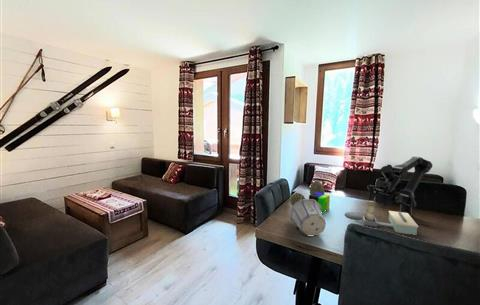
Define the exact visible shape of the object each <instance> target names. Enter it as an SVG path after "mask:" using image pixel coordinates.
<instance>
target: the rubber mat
mask: <svg viewBox="0 0 480 305" xmlns="http://www.w3.org/2000/svg"><path fill="white" fill-rule="evenodd" d="M344 216H345V217H346V218H349V219H352V220H362V219H363V215H362V214H360V213H357V212H351V211H349V212H345V213H344Z"/></svg>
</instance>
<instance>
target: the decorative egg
mask: <svg viewBox="0 0 480 305" xmlns="http://www.w3.org/2000/svg"><path fill="white" fill-rule="evenodd" d="M315 192H317V193H322V194H325V188H324V185H323V184H322V182H321V181H319V180H314V181H313V182H312V183H311V186H310V187H309V195H311V194H313V193H315Z"/></svg>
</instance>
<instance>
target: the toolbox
mask: <svg viewBox="0 0 480 305" xmlns="http://www.w3.org/2000/svg"><path fill="white" fill-rule="evenodd" d="M361 220H362V224H363V225H364V226H370V227H378V226H379V227H386V228H393V229H394V231H395V233H399V234H405V235H411V234H412V236H417V235H418V234H417V232H418V228H419V225H418V224H417V223H416V221H415V220H414V219H413V218H412V216H410V215H409V214H408V213H403V212H398V211H395V210H394V211H393V210H388V220H389V222H390V223H388V222H381V221H378V220H377V218H376V217H374V221H367V220H366V215H365V216H364V215H362V219H361Z"/></svg>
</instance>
